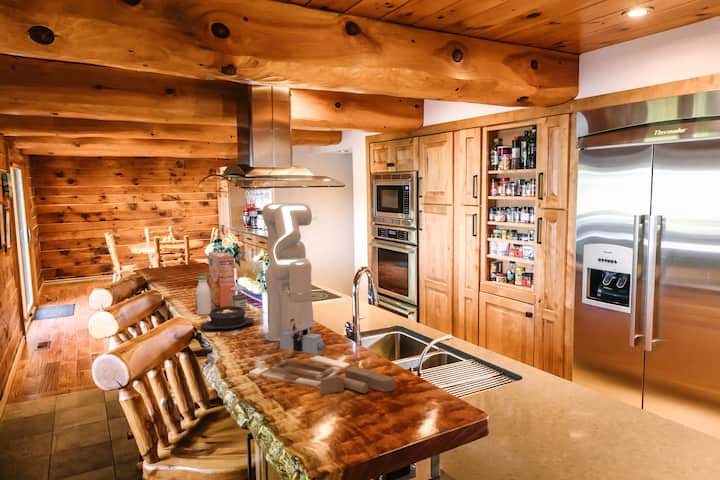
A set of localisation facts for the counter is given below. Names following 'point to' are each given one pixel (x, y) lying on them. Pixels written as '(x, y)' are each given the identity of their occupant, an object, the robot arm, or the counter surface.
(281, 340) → the notched grey stepped bar
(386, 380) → the wooden block set
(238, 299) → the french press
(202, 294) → the milk bottle
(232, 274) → the pasta box
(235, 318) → the casserole
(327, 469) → the counter surface
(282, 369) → the jig
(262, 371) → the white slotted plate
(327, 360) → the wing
